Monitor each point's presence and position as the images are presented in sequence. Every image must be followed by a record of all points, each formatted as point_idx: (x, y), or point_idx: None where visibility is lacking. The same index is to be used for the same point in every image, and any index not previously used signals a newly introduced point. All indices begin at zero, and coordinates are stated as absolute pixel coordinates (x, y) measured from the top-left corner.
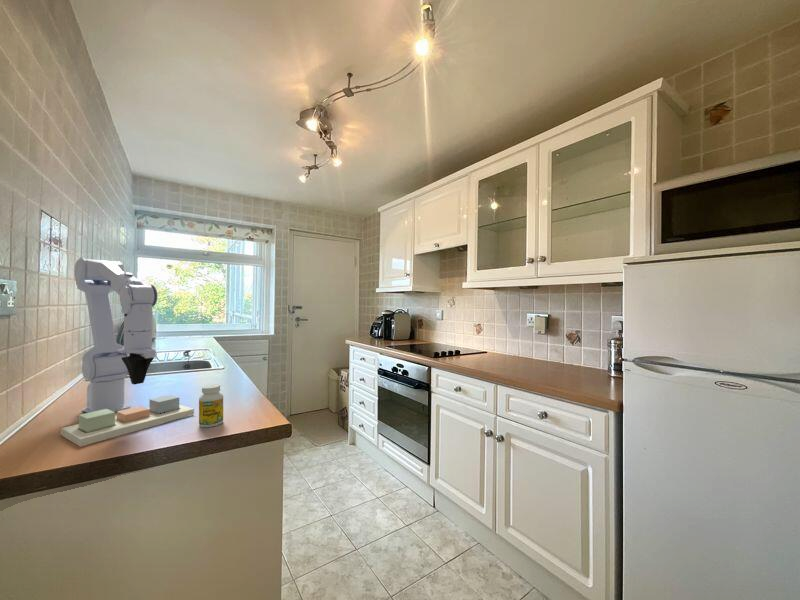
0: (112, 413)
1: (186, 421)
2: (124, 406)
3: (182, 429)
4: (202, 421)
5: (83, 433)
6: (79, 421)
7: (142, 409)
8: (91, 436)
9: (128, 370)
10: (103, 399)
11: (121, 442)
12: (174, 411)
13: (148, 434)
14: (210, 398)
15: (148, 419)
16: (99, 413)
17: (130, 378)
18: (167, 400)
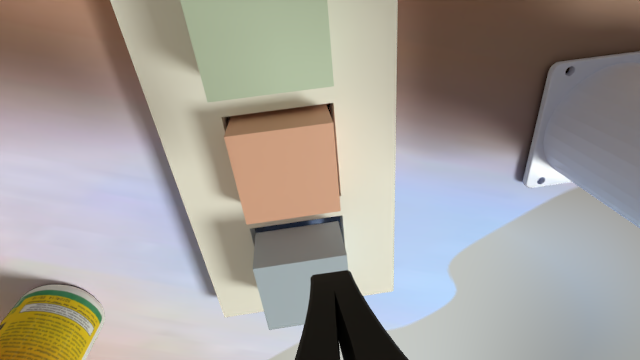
0: (205, 89)
1: (161, 269)
2: (552, 173)
3: (65, 243)
4: (22, 303)
5: None
6: None
7: (265, 204)
8: None
9: (381, 353)
10: (612, 121)
11: (38, 61)
12: (243, 273)
13: (85, 156)
14: None
15: (201, 193)
16: (247, 35)
17: (353, 297)
18: (260, 295)
